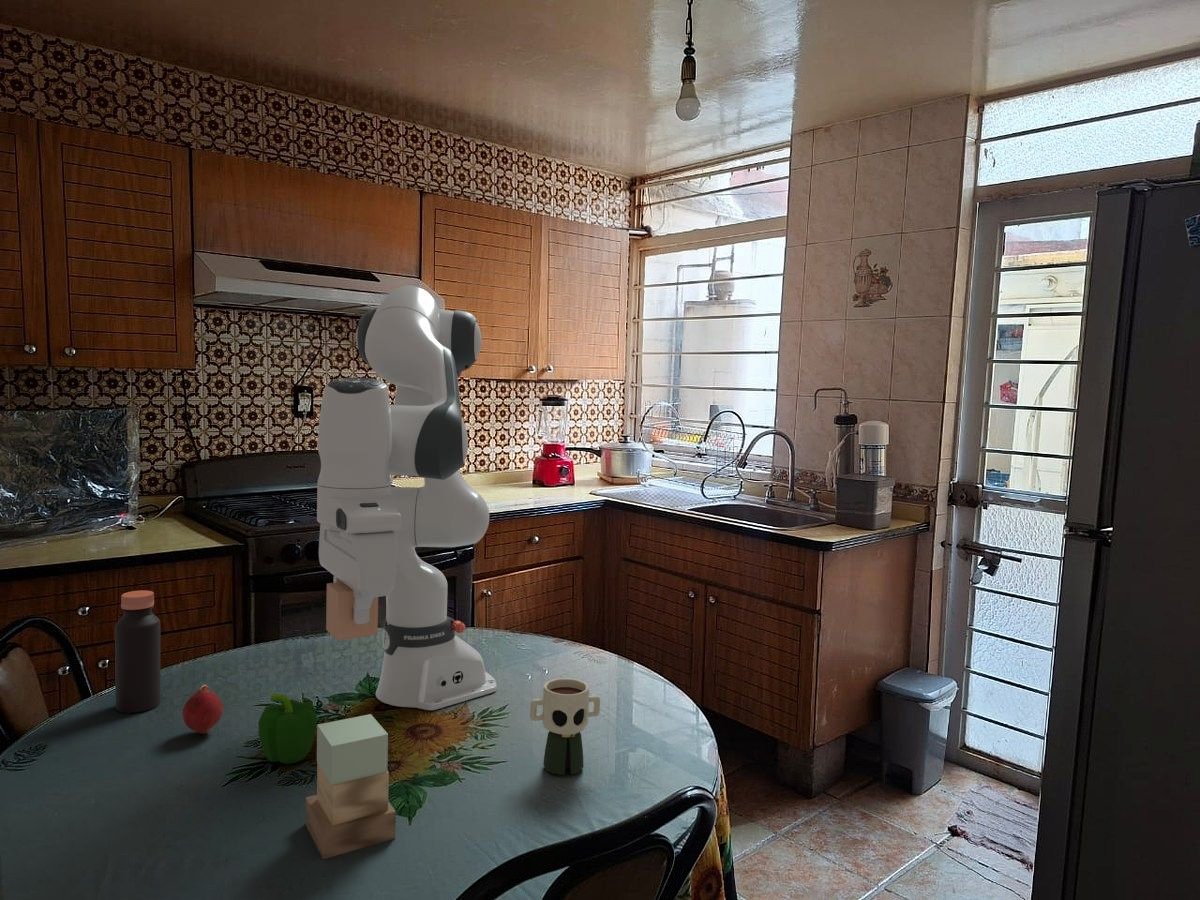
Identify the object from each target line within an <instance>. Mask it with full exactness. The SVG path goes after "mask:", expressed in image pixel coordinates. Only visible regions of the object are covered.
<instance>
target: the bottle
mask: <svg viewBox="0 0 1200 900" xmlns="http://www.w3.org/2000/svg"><path fill="white" fill-rule="evenodd" d="M120 599H121V602H120V608H121V611H122V612H123V615H122V616H121V618H119V619H118V621H116V622H115V625H114V652H115V653H114V654H115V655H114V656H115V659H114V665H115V667H114V670H115V671H114V672H115V674H114V675H115V679H114V680H115V681H114V682H115V687H114V688H115V710H117V711H118V712H120V713H123V714H136V713H142V712H146V711H149V710H152V709H155V708H156V707H158V706H159V705H160V703H161V698H162V697H161V694H162V693H161V690H162V689H161V687H162V686H161V683H162V682H161V619H160V618H159V617H158V616H157V615H156V614H154V613H153V609H154V605H155V592H154V591H152V590H142V589H141V590H132V591H128V592H125V593H122V594H121V596H120Z"/></svg>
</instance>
